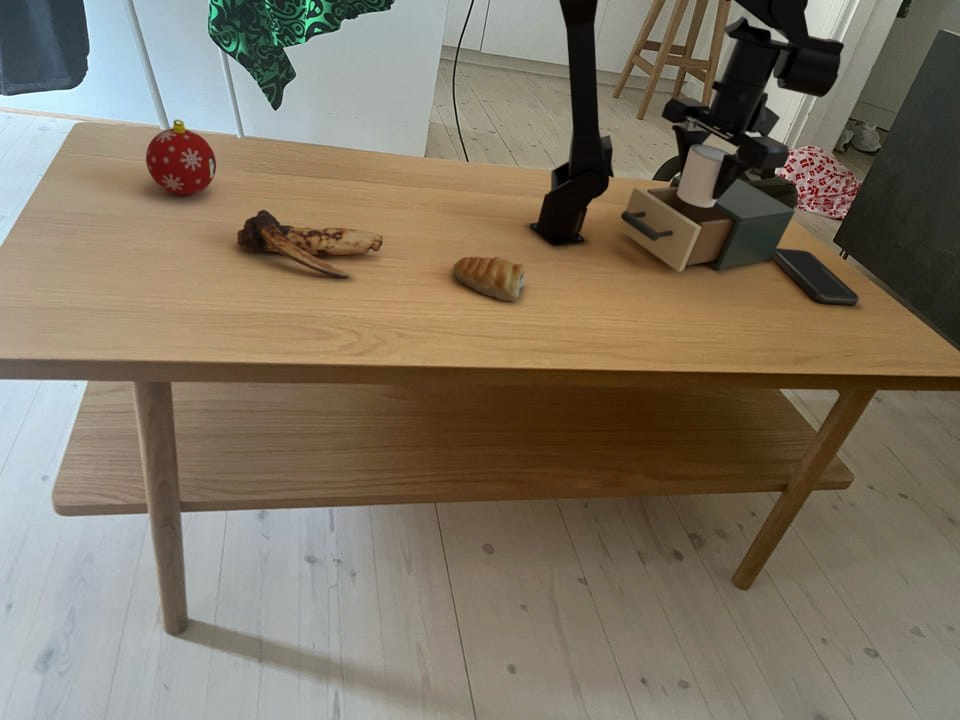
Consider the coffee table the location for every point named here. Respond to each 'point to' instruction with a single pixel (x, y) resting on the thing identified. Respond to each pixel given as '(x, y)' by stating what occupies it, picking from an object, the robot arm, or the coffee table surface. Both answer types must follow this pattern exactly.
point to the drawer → (675, 227)
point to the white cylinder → (700, 175)
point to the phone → (814, 277)
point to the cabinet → (749, 225)
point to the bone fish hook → (305, 242)
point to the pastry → (491, 276)
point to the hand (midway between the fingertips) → (699, 189)
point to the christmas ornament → (180, 160)
